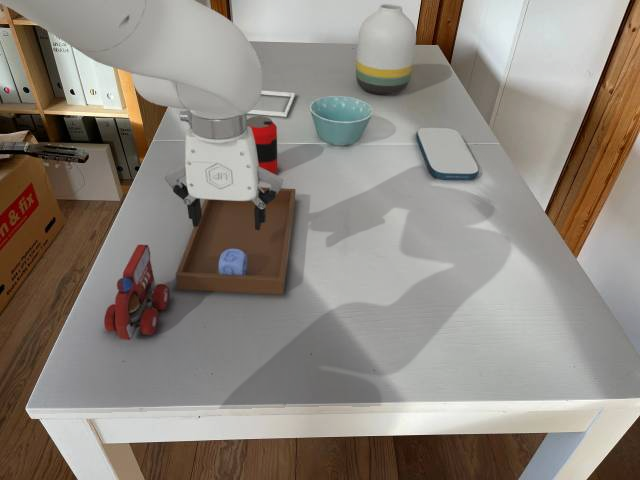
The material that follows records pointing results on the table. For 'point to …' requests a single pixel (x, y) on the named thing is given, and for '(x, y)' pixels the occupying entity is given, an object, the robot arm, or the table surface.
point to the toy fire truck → (136, 298)
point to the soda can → (265, 142)
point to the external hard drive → (446, 154)
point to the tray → (239, 246)
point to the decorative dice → (233, 262)
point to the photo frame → (272, 111)
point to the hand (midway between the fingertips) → (228, 223)
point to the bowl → (340, 119)
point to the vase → (385, 51)
